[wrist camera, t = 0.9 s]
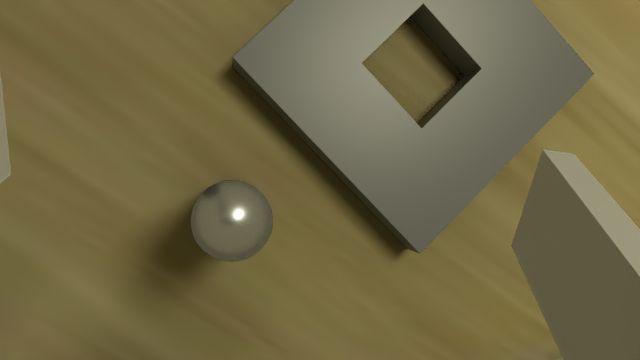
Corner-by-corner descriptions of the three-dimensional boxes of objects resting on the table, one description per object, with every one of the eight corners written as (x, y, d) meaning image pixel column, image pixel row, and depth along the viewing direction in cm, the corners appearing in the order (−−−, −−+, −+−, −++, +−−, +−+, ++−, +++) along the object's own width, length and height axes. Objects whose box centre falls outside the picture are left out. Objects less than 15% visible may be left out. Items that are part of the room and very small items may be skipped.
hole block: (232, 66, 41) (232, 57, 38) (411, -102, 43) (425, -122, 40) (406, 248, 43) (420, 253, 40) (569, 80, 45) (594, 73, 42)
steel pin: (188, 208, 40) (173, 221, 29) (230, 168, 41) (232, 163, 29) (229, 249, 41) (231, 278, 29) (271, 208, 41) (289, 221, 29)
